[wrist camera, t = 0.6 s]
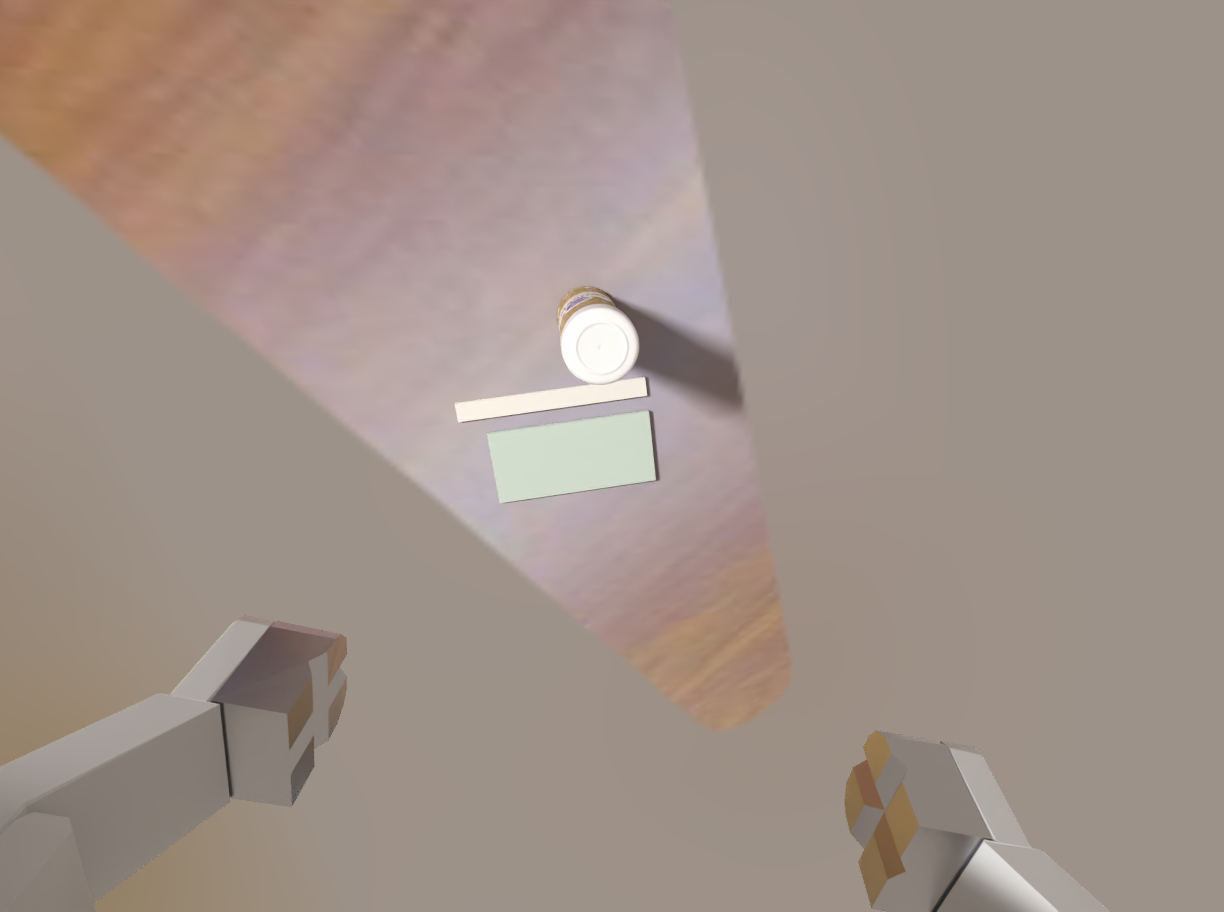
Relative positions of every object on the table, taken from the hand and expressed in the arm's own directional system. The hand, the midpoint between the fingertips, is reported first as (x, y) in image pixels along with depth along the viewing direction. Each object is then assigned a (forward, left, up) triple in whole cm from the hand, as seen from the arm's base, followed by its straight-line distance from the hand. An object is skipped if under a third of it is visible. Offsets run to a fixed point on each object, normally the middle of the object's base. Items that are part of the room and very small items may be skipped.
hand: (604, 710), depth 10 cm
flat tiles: (+10, -1, -43) cm, 44 cm away
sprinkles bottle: (0, +3, -43) cm, 43 cm away
